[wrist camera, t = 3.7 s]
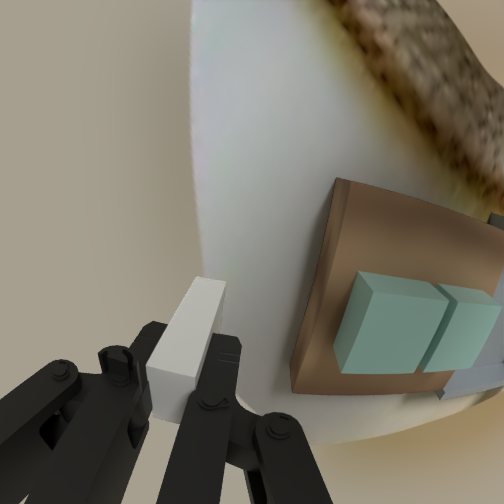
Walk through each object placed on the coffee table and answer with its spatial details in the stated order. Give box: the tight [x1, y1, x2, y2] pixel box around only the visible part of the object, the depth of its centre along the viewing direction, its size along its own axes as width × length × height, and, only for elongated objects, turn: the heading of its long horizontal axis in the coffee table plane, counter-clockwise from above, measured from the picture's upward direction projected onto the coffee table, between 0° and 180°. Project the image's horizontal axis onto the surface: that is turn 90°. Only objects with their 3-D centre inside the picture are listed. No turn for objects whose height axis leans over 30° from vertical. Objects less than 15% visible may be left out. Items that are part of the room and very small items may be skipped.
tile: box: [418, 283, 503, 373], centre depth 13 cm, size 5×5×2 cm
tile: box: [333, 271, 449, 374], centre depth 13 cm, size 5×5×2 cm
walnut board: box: [290, 177, 504, 395], centre depth 16 cm, size 14×14×3 cm
